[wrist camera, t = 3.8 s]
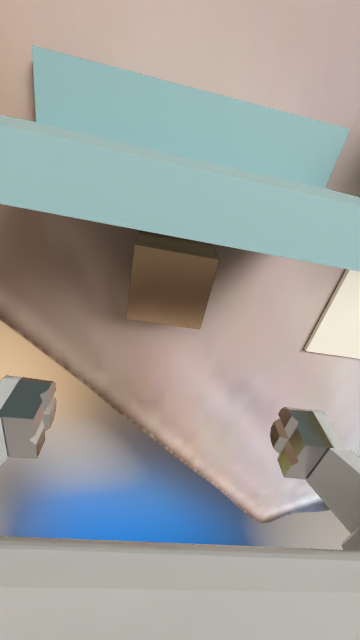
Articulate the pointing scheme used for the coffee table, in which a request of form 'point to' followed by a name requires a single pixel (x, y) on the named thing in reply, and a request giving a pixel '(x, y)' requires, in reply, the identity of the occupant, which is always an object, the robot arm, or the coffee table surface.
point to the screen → (177, 163)
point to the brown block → (171, 280)
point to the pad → (340, 321)
